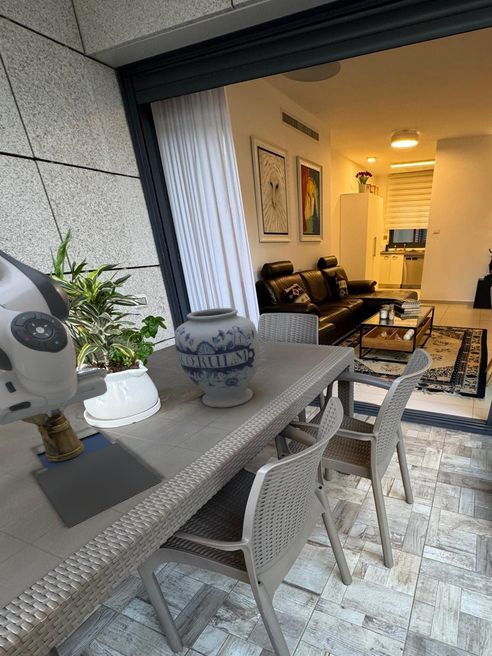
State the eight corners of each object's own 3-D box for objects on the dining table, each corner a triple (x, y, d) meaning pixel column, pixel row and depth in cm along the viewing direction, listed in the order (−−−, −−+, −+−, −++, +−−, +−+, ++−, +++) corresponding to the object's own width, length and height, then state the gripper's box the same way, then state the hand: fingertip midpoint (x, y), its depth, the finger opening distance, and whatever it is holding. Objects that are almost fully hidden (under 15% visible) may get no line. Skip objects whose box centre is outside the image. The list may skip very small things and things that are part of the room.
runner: (68, 528, 72) (68, 527, 72) (34, 475, 88) (33, 474, 88) (162, 481, 84) (162, 480, 84) (116, 442, 101) (116, 442, 101)
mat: (48, 469, 90) (47, 469, 90) (34, 451, 99) (34, 450, 99) (113, 444, 100) (112, 443, 100) (95, 429, 109) (95, 428, 109)
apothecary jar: (172, 406, 121) (148, 317, 107) (222, 379, 142) (207, 302, 128) (235, 419, 111) (218, 323, 96) (278, 388, 132) (270, 305, 117)
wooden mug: (32, 475, 88) (-3, 411, 79) (55, 447, 100) (28, 388, 91) (71, 469, 90) (41, 406, 81) (89, 442, 101) (65, 384, 93)
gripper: (99, 353, 74) (98, 385, 84) (-28, 382, 61) (-10, 416, 71) (114, 378, 73) (111, 407, 84) (-10, 413, 60) (5, 442, 71)
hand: (54, 412), depth 77 cm, fingers closed
